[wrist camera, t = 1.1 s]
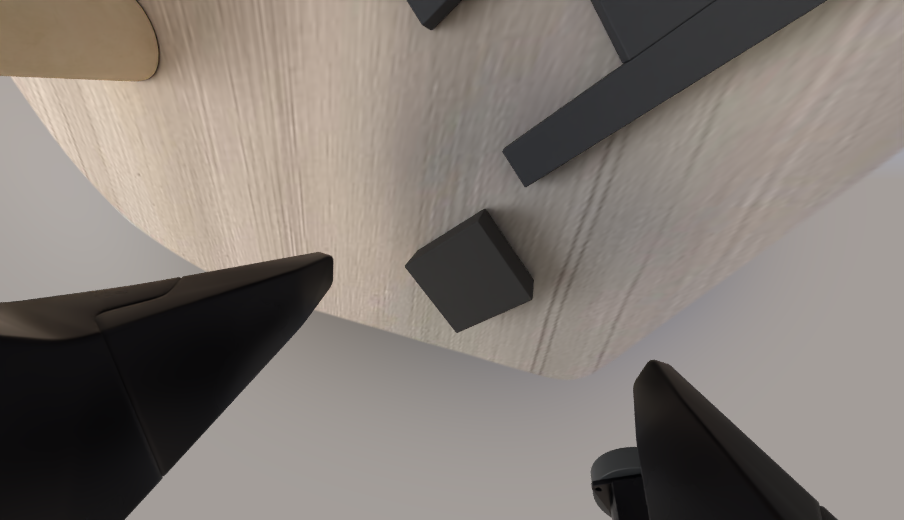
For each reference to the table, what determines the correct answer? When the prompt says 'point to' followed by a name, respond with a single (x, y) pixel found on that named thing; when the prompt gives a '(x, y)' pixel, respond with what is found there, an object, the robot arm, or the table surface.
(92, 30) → the candle
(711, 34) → the mat
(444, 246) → the black block
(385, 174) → the table surface
